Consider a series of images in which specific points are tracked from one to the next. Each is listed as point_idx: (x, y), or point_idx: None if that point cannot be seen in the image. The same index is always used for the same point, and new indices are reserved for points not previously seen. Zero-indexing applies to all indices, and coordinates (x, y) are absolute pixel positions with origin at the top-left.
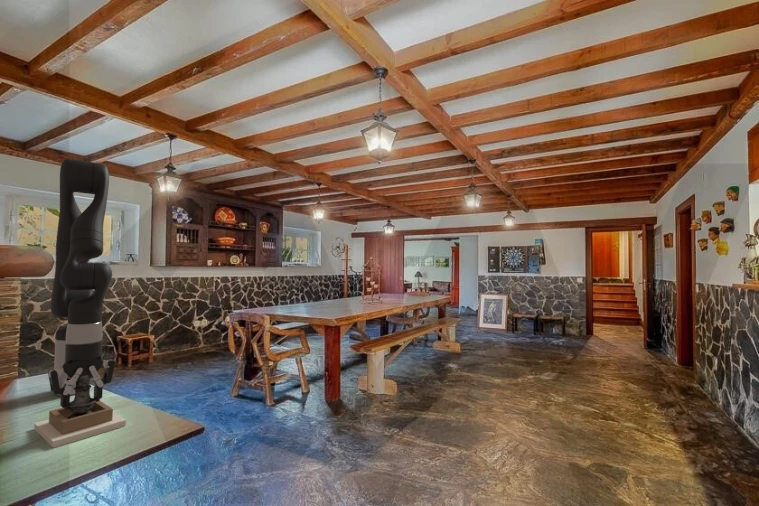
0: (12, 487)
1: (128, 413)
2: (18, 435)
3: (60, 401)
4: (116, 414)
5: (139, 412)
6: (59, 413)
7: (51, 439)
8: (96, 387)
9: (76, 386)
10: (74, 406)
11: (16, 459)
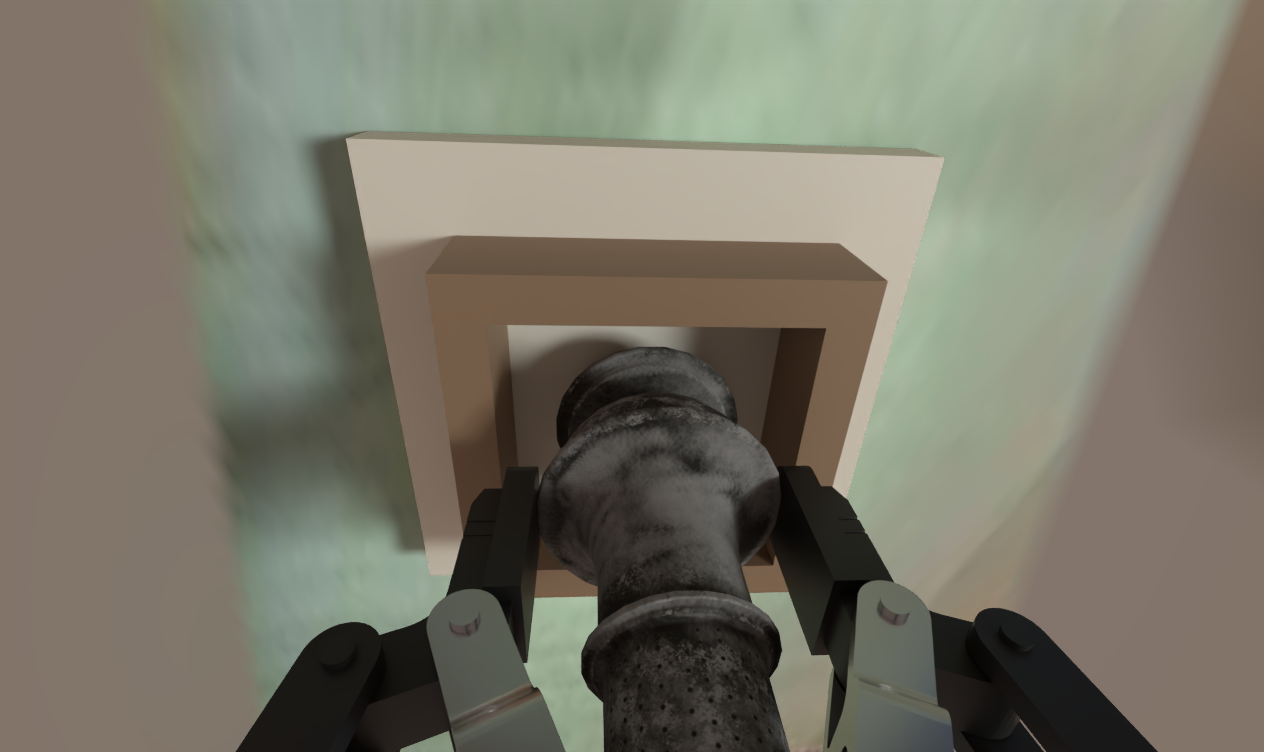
0: None
1: (958, 372)
2: (256, 182)
3: (464, 530)
4: (854, 450)
5: (1002, 410)
6: (489, 419)
7: (427, 545)
8: (826, 626)
9: (604, 708)
10: (571, 572)
11: (277, 547)
